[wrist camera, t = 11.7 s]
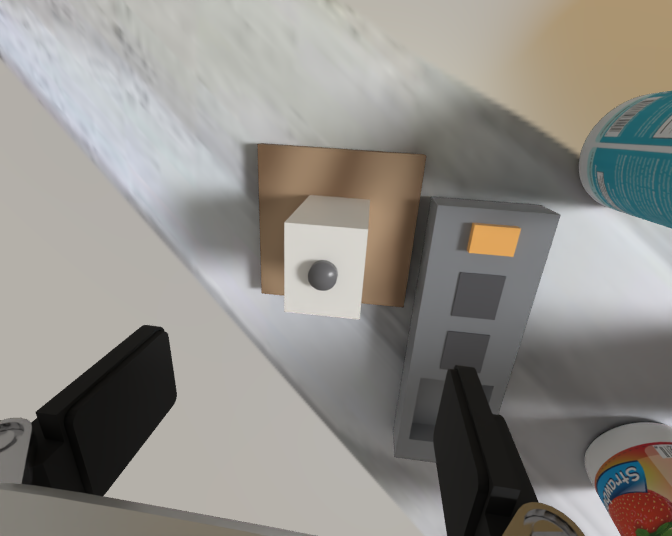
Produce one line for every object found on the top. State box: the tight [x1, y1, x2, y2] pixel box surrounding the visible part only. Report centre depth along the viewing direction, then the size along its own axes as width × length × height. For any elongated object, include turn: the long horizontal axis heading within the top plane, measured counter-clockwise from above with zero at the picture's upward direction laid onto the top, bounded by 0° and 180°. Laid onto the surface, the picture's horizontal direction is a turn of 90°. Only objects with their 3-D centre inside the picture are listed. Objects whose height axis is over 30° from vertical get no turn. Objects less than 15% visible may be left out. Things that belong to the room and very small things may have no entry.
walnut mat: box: [258, 143, 426, 307], centre depth 27 cm, size 12×12×1 cm
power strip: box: [393, 197, 560, 463], centre depth 29 cm, size 8×24×4 cm, turn 177°
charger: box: [284, 195, 370, 320], centre depth 23 cm, size 4×6×9 cm
